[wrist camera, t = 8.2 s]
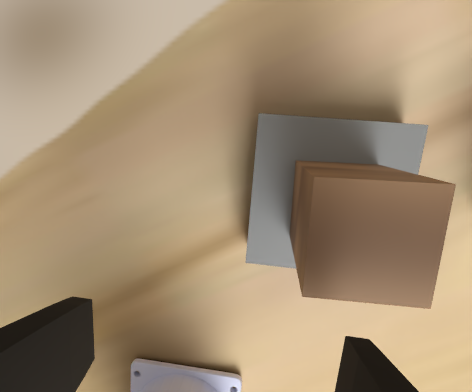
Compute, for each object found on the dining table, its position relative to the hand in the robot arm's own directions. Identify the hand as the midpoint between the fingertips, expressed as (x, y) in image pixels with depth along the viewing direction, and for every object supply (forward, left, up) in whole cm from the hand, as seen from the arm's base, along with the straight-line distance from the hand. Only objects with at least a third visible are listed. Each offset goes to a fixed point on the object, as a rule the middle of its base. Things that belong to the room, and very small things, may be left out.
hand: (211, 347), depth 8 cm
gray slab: (+3, -4, -11) cm, 12 cm away
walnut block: (+3, -5, -8) cm, 10 cm away
